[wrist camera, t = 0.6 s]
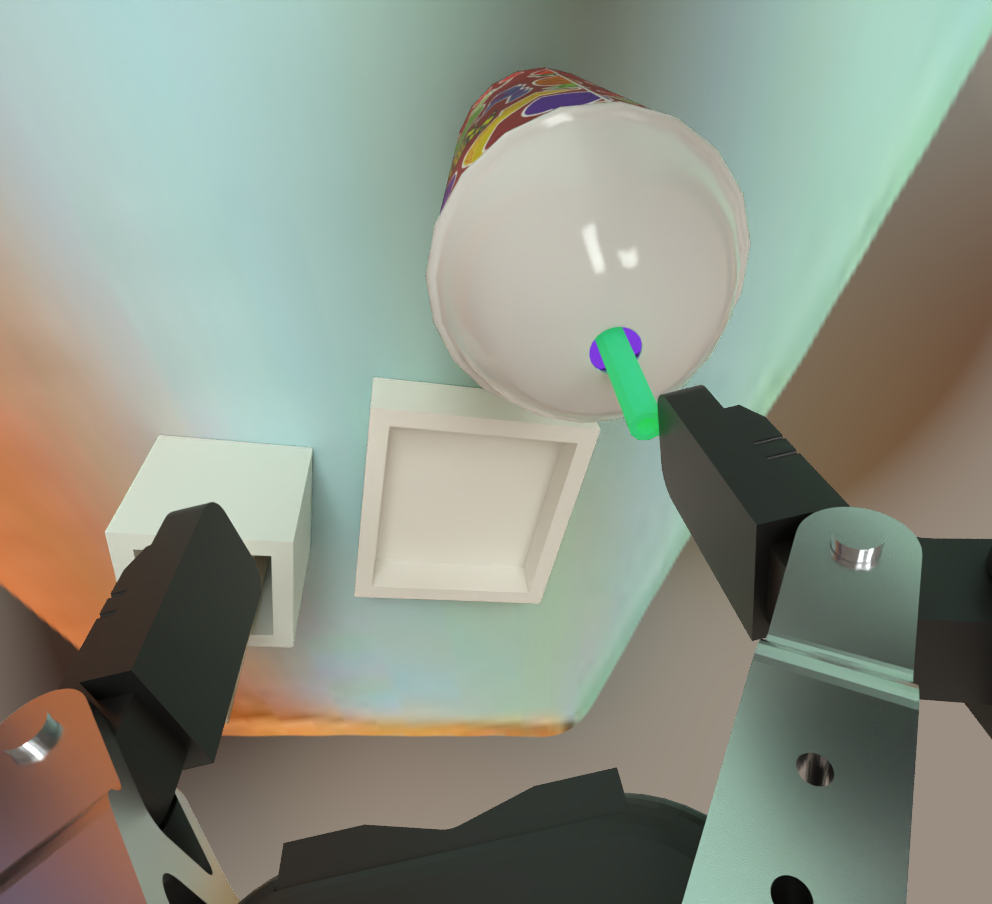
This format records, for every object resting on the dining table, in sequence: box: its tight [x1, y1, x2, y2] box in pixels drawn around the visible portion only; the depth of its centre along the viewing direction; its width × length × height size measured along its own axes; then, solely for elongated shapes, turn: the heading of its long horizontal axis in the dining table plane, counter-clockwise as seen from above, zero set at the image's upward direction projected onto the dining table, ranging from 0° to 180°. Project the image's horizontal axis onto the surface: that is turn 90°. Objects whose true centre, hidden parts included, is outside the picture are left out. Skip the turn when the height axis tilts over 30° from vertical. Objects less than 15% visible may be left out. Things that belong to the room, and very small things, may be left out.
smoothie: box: [426, 67, 750, 440], centre depth 19 cm, size 8×8×20 cm
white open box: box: [105, 435, 313, 647], centre depth 33 cm, size 8×8×8 cm
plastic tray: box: [354, 377, 600, 603], centre depth 37 cm, size 14×12×3 cm
